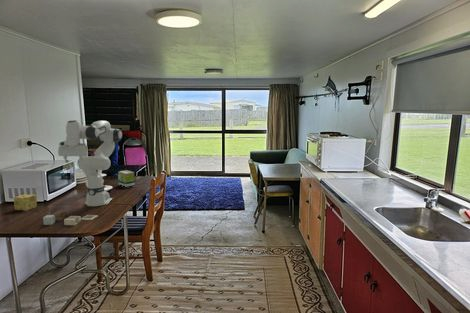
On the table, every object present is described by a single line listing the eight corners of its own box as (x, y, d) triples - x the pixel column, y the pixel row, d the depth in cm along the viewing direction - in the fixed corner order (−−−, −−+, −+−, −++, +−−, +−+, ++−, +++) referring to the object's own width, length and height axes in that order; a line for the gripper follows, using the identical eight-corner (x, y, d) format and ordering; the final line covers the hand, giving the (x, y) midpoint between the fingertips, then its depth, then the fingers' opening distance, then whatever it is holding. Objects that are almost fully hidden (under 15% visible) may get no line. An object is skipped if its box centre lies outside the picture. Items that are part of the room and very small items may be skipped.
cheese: (26, 211, 219) (24, 198, 218) (13, 210, 221) (12, 197, 220) (37, 206, 229) (36, 194, 228) (25, 206, 231) (24, 193, 230)
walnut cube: (58, 217, 205) (57, 211, 205) (65, 218, 205) (64, 211, 204) (53, 220, 200) (52, 213, 200) (60, 220, 200) (59, 213, 199)
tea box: (118, 185, 300) (117, 171, 298) (127, 183, 308) (126, 169, 306) (125, 187, 290) (125, 173, 288) (135, 186, 298) (134, 171, 296)
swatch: (87, 215, 210) (87, 214, 210) (98, 216, 209) (98, 214, 209) (80, 219, 202) (80, 218, 202) (91, 219, 202) (91, 218, 201)
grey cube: (47, 222, 197) (46, 215, 196) (55, 221, 198) (54, 214, 197) (43, 225, 192) (43, 217, 191) (52, 224, 193) (51, 217, 192)
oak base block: (71, 221, 199) (70, 215, 199) (81, 221, 199) (80, 216, 198) (64, 225, 192) (64, 219, 192) (74, 225, 192) (74, 219, 191)
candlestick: (92, 188, 288) (90, 160, 284) (116, 188, 286) (115, 160, 282) (79, 193, 268) (77, 163, 264) (105, 194, 266) (104, 164, 262)
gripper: (89, 143, 209) (89, 162, 210) (62, 143, 211) (62, 162, 212) (84, 143, 203) (84, 163, 203) (56, 142, 205) (56, 162, 205)
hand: (73, 162), depth 208 cm, fingers open, 8 cm apart
